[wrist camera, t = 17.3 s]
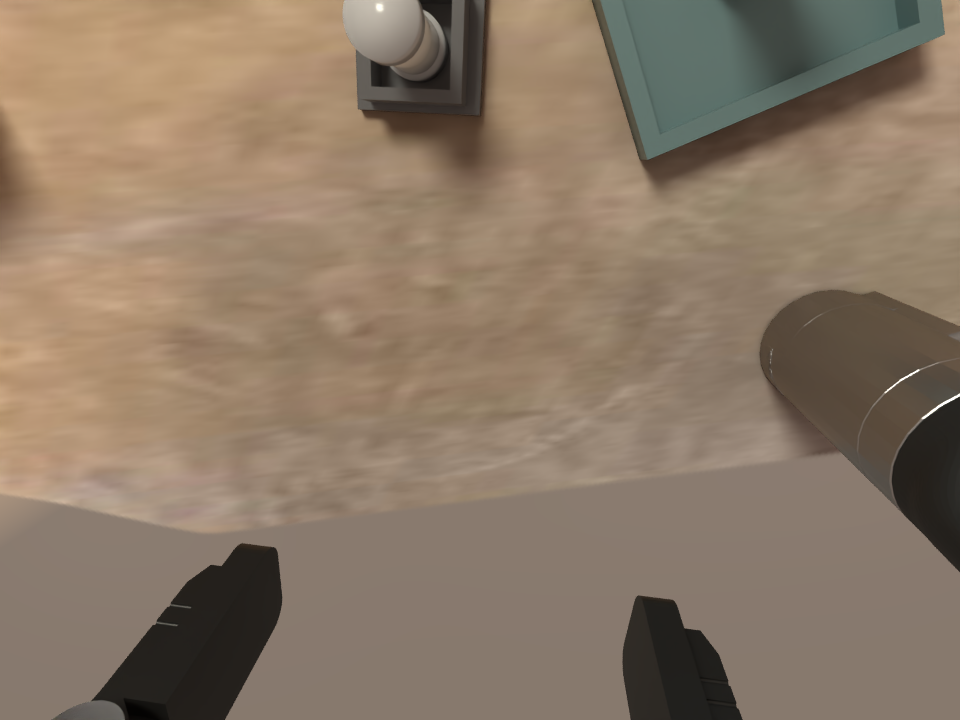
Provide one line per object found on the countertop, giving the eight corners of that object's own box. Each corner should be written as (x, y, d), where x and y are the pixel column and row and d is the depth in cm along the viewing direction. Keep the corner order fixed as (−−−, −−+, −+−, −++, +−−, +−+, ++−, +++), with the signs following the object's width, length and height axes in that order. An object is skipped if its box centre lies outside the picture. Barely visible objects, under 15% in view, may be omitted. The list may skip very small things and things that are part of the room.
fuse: (433, 2, 35) (398, -46, 27) (457, 67, 36) (431, 41, 28) (379, 30, 36) (329, -8, 28) (403, 92, 37) (363, 74, 29)
